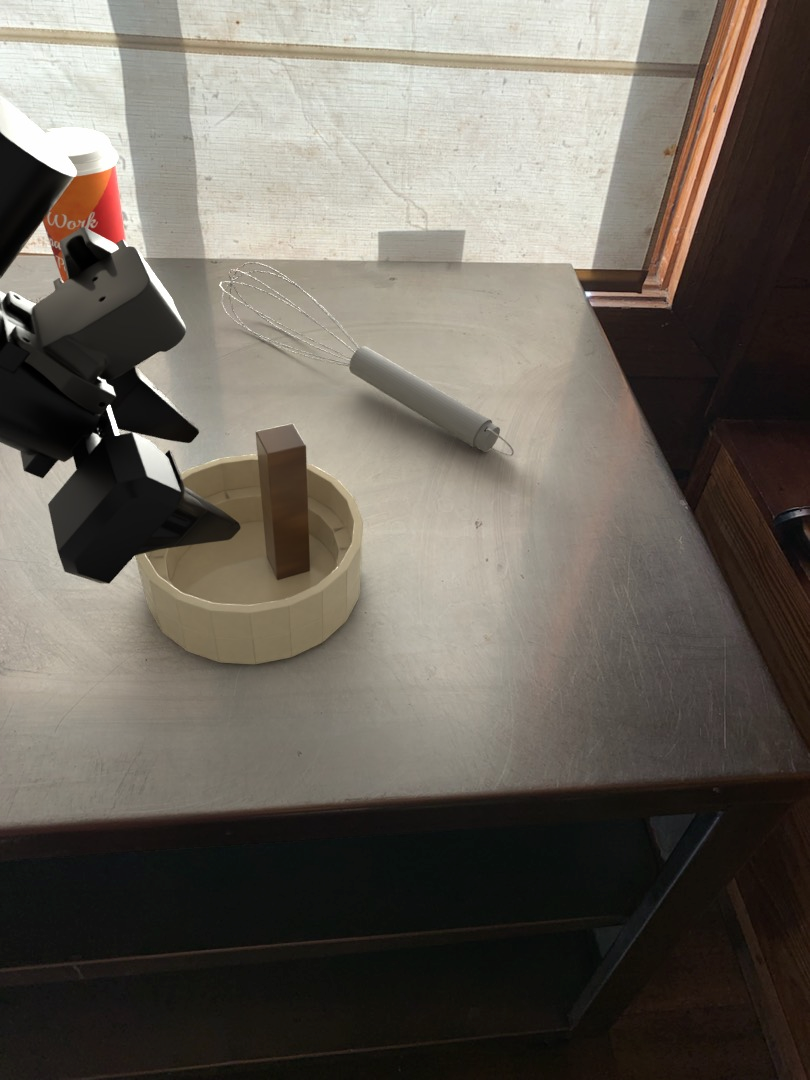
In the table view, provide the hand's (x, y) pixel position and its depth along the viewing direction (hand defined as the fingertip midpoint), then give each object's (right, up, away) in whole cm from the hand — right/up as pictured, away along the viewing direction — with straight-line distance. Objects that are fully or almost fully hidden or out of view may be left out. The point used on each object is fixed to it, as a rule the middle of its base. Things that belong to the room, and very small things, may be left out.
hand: (213, 481), depth 47 cm
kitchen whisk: (+7, +11, +25) cm, 29 cm away
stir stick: (+3, -5, +8) cm, 10 cm away
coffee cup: (-19, +20, +32) cm, 43 cm away
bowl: (+1, -6, +7) cm, 10 cm away
